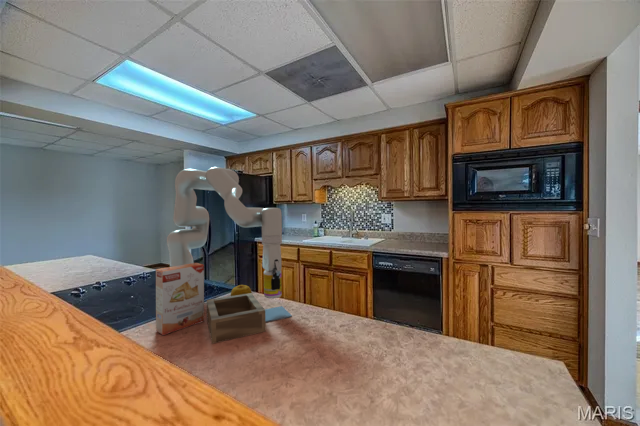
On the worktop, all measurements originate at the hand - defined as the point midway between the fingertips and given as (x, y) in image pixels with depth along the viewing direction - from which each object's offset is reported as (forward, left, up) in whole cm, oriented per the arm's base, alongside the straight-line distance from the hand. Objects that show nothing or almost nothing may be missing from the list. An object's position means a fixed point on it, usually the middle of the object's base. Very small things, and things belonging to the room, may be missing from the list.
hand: (272, 286), depth 99 cm
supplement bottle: (0, 0, -4) cm, 4 cm away
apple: (-15, -9, -11) cm, 21 cm away
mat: (0, 0, -11) cm, 11 cm away
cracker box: (-6, -31, -11) cm, 34 cm away
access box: (+2, -15, -11) cm, 18 cm away
